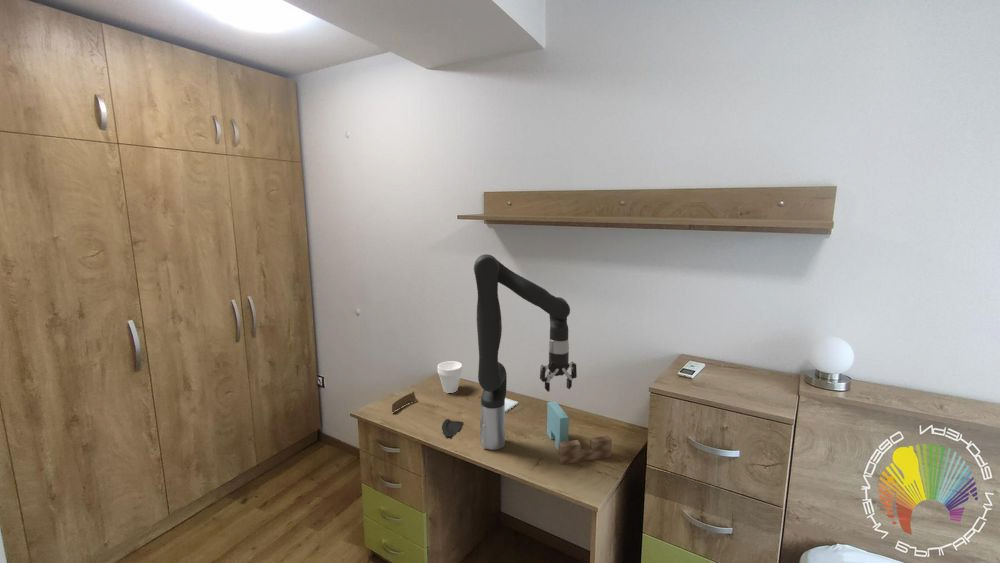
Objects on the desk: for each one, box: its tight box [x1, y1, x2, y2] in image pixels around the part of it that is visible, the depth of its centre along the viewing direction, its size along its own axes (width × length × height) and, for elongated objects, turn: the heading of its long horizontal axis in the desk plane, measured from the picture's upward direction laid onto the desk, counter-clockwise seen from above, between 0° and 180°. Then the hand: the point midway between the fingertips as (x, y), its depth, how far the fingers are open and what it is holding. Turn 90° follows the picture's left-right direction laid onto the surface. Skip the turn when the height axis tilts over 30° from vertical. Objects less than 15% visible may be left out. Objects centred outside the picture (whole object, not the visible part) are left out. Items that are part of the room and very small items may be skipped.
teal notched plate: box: [546, 400, 570, 450], centre depth 176 cm, size 14×4×14 cm, turn 14°
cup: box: [437, 360, 463, 394], centre depth 223 cm, size 12×12×14 cm
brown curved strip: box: [391, 391, 418, 413], centre depth 206 cm, size 15×2×5 cm, turn 149°
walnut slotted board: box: [557, 435, 613, 465], centre depth 165 cm, size 20×3×7 cm, turn 104°
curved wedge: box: [441, 418, 464, 439], centre depth 187 cm, size 8×14×2 cm, turn 170°
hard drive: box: [505, 397, 519, 413], centre depth 207 cm, size 2×8×12 cm
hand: (558, 389), depth 173 cm, fingers open, 8 cm apart
